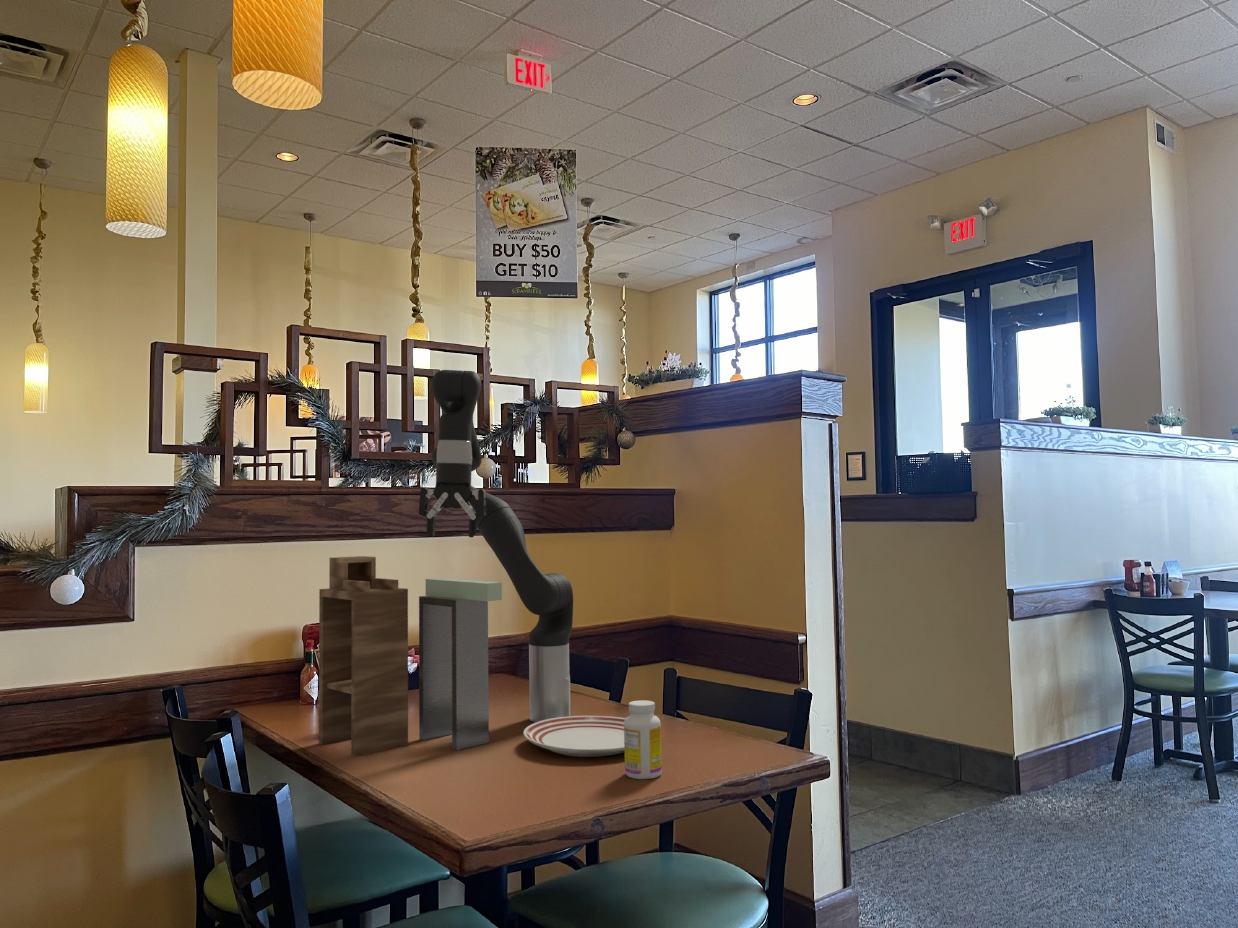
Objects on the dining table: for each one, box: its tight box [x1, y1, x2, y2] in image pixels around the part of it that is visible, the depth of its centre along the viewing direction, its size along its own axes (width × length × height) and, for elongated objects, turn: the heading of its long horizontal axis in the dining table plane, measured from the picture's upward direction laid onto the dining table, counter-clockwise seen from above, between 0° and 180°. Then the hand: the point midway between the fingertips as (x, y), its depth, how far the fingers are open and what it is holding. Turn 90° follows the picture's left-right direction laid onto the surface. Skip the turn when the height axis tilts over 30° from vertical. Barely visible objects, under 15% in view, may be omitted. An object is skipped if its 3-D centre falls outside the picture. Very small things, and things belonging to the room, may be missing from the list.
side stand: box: [418, 595, 490, 751], centre depth 189 cm, size 14×8×30 cm, turn 45°
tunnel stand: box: [318, 555, 409, 757], centre depth 188 cm, size 15×12×38 cm
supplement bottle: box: [624, 699, 663, 780], centre depth 163 cm, size 7×7×13 cm
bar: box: [425, 577, 503, 602], centre depth 188 cm, size 22×4×4 cm, turn 45°
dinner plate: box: [522, 715, 627, 758], centre depth 184 cm, size 28×27×3 cm
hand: (451, 536), depth 195 cm, fingers open, 8 cm apart
